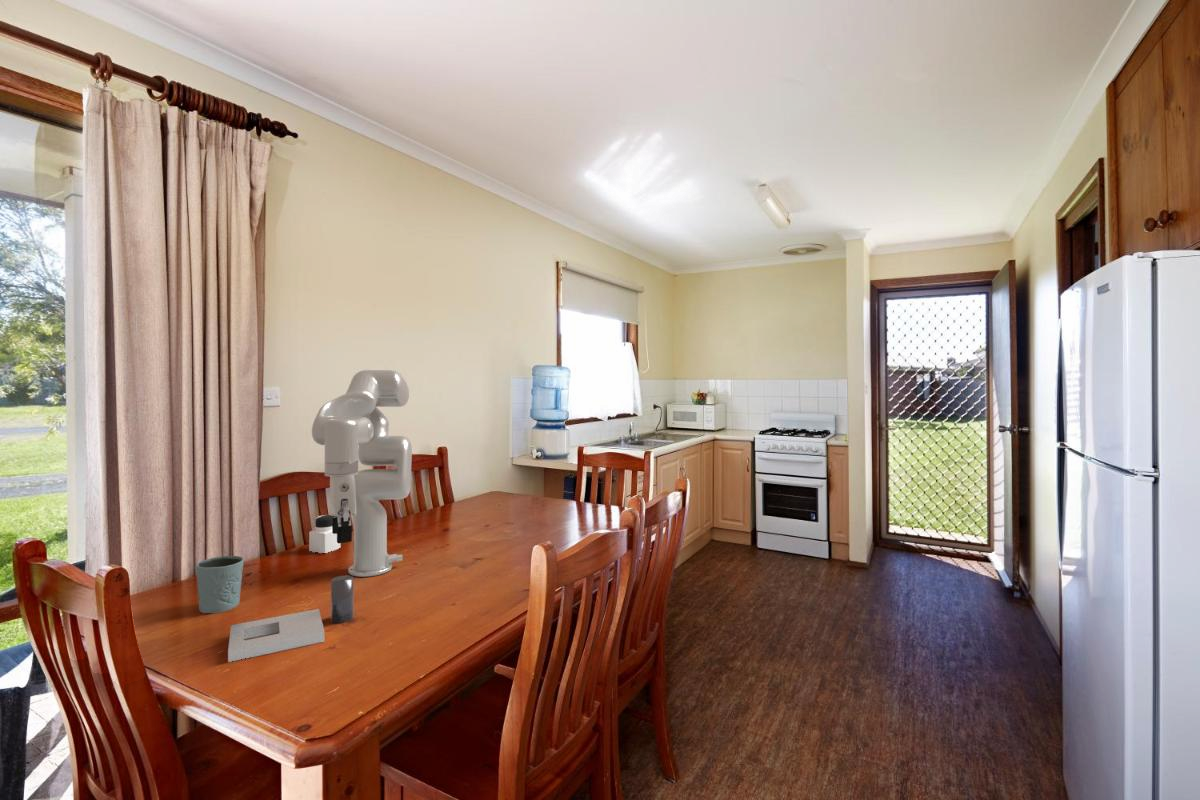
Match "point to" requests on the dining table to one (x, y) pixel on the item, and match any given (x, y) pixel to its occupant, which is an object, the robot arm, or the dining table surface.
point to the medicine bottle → (323, 536)
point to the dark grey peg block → (341, 599)
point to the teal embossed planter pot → (219, 583)
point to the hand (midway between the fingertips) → (341, 537)
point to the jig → (291, 634)
